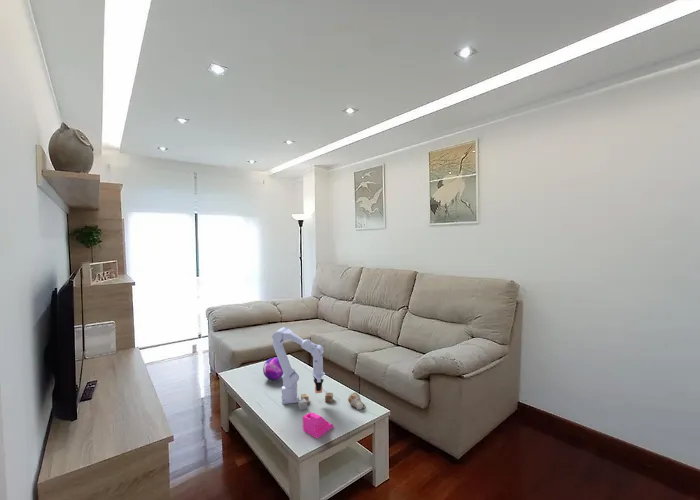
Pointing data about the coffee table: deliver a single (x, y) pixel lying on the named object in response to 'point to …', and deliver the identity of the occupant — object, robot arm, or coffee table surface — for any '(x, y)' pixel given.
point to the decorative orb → (272, 369)
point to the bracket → (315, 425)
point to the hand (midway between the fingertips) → (318, 388)
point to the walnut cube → (329, 397)
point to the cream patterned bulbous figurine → (356, 401)
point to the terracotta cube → (318, 391)
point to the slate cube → (302, 404)
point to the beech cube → (305, 397)
